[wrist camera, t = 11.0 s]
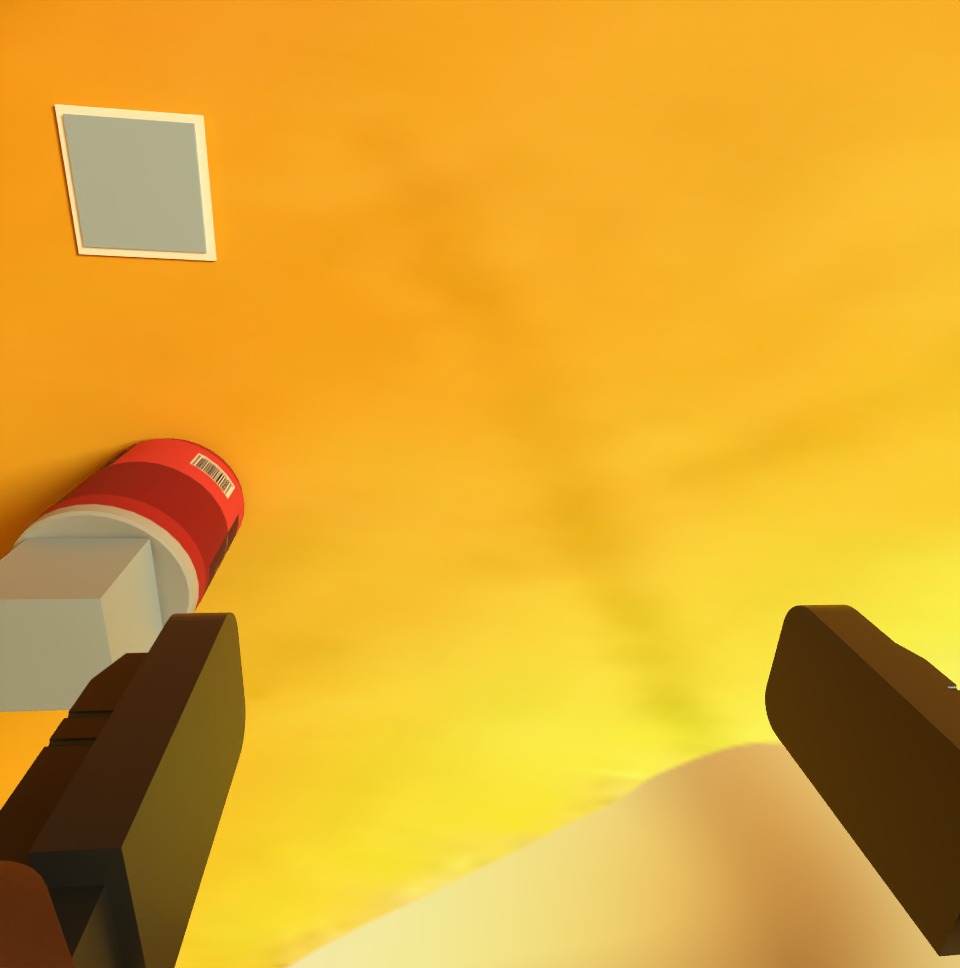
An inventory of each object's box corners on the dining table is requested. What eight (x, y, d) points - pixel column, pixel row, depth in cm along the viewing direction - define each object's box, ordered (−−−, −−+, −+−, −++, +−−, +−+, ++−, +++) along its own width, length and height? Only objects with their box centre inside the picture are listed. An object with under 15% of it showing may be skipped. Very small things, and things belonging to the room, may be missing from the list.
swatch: (56, 104, 31) (52, 103, 31) (203, 116, 32) (201, 114, 32) (80, 253, 34) (77, 254, 33) (216, 260, 34) (214, 261, 34)
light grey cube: (27, 538, 28) (-49, 600, 23) (150, 538, 28) (100, 598, 24) (48, 636, 29) (-18, 712, 25) (164, 634, 30) (120, 708, 25)
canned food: (109, 423, 37) (-2, 497, 27) (253, 446, 38) (200, 524, 28) (108, 541, 40) (7, 649, 29) (243, 558, 41) (190, 667, 31)
